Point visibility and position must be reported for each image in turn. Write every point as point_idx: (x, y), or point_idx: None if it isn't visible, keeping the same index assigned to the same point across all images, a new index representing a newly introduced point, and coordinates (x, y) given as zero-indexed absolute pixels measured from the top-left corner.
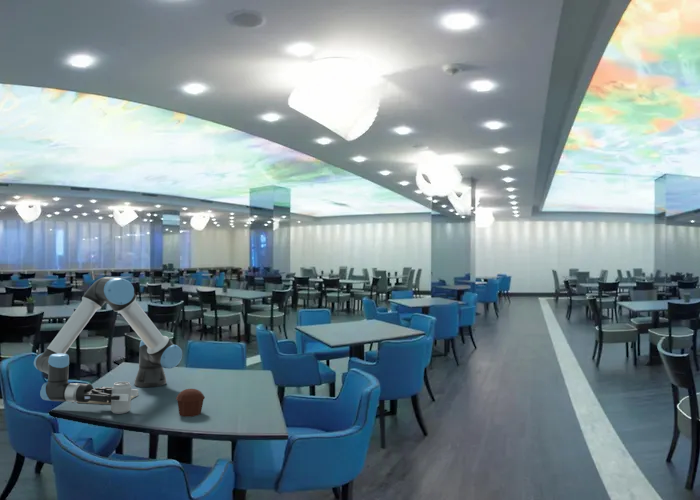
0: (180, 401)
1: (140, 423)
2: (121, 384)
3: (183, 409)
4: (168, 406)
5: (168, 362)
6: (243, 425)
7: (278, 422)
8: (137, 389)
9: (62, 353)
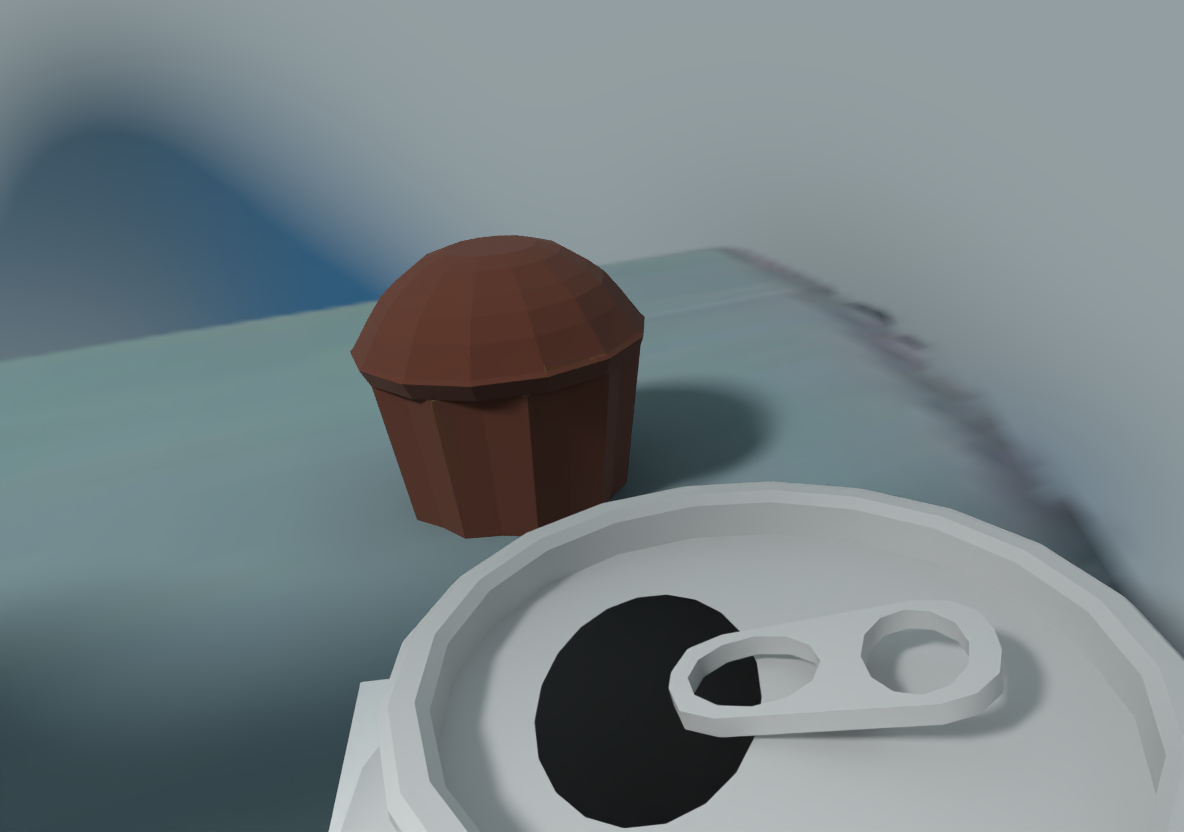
0: (640, 343)
1: None
2: (790, 700)
3: (631, 415)
4: (227, 717)
5: None
6: (679, 302)
7: None
8: (377, 683)
9: None
